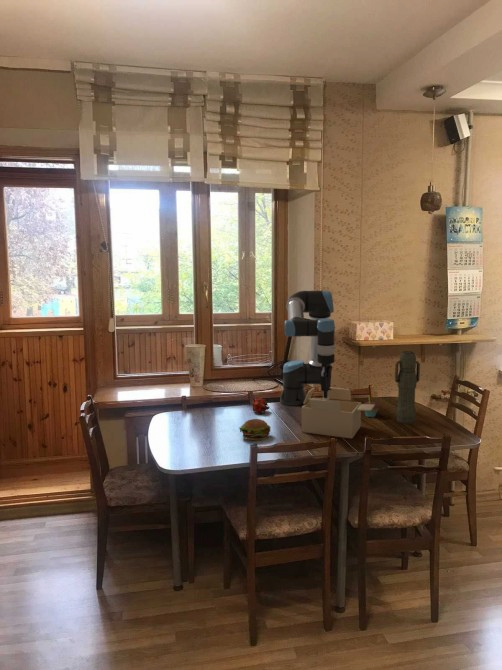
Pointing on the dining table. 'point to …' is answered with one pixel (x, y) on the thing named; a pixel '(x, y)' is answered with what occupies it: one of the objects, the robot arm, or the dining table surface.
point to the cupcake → (374, 410)
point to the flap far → (339, 393)
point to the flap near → (325, 404)
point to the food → (255, 429)
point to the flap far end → (365, 407)
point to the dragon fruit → (259, 405)
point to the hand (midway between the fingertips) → (326, 404)
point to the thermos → (406, 386)
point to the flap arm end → (308, 395)
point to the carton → (332, 420)
